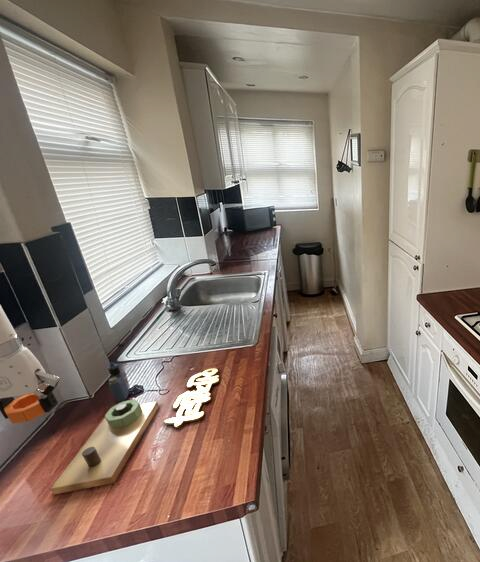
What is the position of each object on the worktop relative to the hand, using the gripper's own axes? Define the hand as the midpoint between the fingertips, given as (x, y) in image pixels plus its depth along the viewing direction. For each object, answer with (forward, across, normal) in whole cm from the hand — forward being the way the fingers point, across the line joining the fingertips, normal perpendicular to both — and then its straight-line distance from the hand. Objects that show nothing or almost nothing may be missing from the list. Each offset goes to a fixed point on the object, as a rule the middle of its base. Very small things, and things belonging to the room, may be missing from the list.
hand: (32, 410), depth 73 cm
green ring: (+12, +13, +6) cm, 19 cm away
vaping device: (+14, +6, +18) cm, 24 cm away
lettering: (+14, +29, +14) cm, 35 cm away
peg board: (+14, +13, 0) cm, 19 cm away
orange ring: (0, 0, 0) cm, 0 cm away
